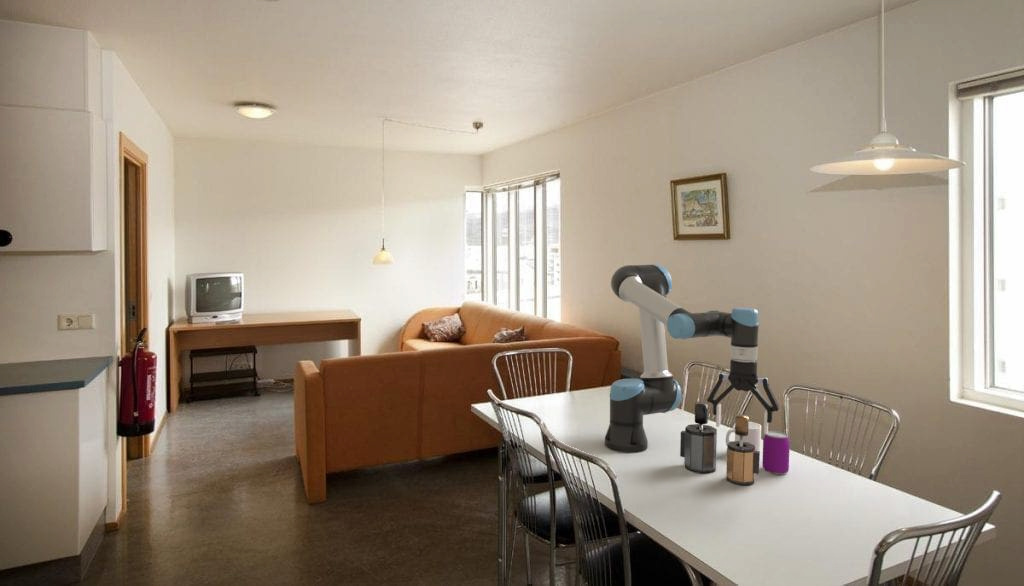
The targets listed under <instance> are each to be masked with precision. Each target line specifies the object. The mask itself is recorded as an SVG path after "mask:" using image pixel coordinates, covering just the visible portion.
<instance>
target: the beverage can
mask: <svg viewBox="0 0 1024 586" xmlns="http://www.w3.org/2000/svg"><path fill="white" fill-rule="evenodd" d="M790 444H791V443H790V440H789V437H788V434H787V433H785V432H784V431H783V432H782V431H777V430H768V433H767V434H764V436H763V441H762V461H761V463H762V469H763V470H764V471H765V472H766V473H769V474H772V475H776V476H778V475H779V476H780V475H785V474H787V473H788V472H789V469H790Z"/></svg>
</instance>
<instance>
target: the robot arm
mask: <svg viewBox="0 0 1024 586" xmlns="http://www.w3.org/2000/svg"><path fill="white" fill-rule="evenodd" d="M610 286H611V290H612V292H613V294H614V295H615V296H616V297H617V298H618V299H620V300H622V301H623V302H626V303H631V304H633V305H634V306H636V307H638V313H639V323H640V337H641V348H642V349H641V350H642V362H643V373H642V374H641V375H639V376H640V378H633V377H630V378H622V379H618V380H615V381H613V382H612V384H611V385H610V388H609V389H610V390H609V391H610V392H609V424H608V428H607V430H606V434H605V435H604V436H605V437H604V446H605V448H607V449H609V450H612V451H615V452H620V453H631V454H632V453H641V452H643V451H646V450H647V449H648V448H649V447H648V446H649V445H648V444H649V440H648V438H647V433H646V431H645V427H644V416H647V415H649V416H650V415H655V414H661V413H662V414H667V413H668V412H672V411H674V410H676V409H677V408H678V407H679V405H680V403H681V401H682V388H681V385H679V382H678V381H677V380H676V379H674V375H673V373H671V372H670V371H669V365H668V355H667V354H668V353H667V351H668V350H667V341H666V331H665V326H666V329H667V332H668V333H669V336H670V337H671V338H673V339H676V340H679V339H681V340H688V339H695V338H708V337H710V338H711V337H725V338H729V339H730V358H731V359H730V365H729V368H730V370H729V374H726V373H725V372H721V373H720V374H718V379H717V382H716V384H715V385H714V387H713V389H712V390H711V392H710V394H709V396H708V397H707V399H706V401H707V403H711V404H712V413H713V416H716V420H715V421H716V423H715V424H716V425H715V426H716V427H717V428H720V426H721V425H722V423H721V422H722V403H720V402H721V401H722V400H723V399H724V398H725V397H726V396H727V395H728V394H729V393H730V392H731V391H732V390H733V389H735V390H736V391H739V392H740V391H743V392H751V393H752V394H753V395H754V396H755V397H756V399H757V400H758V402H760V404H761V405H762V407H763V408H764V409H765V411H764V413H763V414H764V416H763V418H764V419H763V435H765V434H767V433H768V431H769V423H770V424H771V423H772V421H773V412H778V411H779V410H780V408H781V407H780V405H779V403H778V400H777V399H776V397H775V394H774V393H773V391H772V388H771V386H770V385H769V382H770V381H769V378H768V377H767V376H766V377H758V361H757V360H758V356H759V355H758V353H759V351H758V350H759V346H758V345H759V343H758V341H759V325H760V322H759V321H760V320H759V319H760V318H759V312H758V310H757V309H756V308H751V307H734V308H732V309H731V312H726V311H719V310H707V311H705V312H690V311H689V310H686V309H685V308H683V307H682V306H680V305H678V304H677V303H675V302H673V301H672V300H670V299H668V298H667V296H668V295H669V294H670V293H671V290H672V287H673V280H672V276H671V273H670V272H669V270H667V269H666V268H665V267H664V266H662V265H659V264H635V265H633V264H631V265H626V264H625V265H623V266H621V267H619V268H618V269H617V270H615V271H614V273H613V275H612V276H611V279H610ZM727 380H728V381H729V383H730V385H729V386H727V388H726V389H725V390H724V391H722V393H721V394H720V395H719V396H718V397H717V398H716V399H715V397H716V396H717V393H718V391H719V389H720V388H721V386H722V385H723V383H724V382H725V381H727ZM758 383H759V384H760V386H762V387H763V389H764V392H765V394H766V396H767V398H768V400H769V401H768V400H767V398H766V397H764V394H762V393H761V391H760V390H759V388H758V387H757V386H756V385H757V384H758ZM769 402H770V403H769Z"/></svg>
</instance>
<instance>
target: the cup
mask: <svg viewBox="0 0 1024 586" xmlns="http://www.w3.org/2000/svg"><path fill="white" fill-rule="evenodd" d="M732 433H734V441H740V435H736V434H735V428H730V429H728V430H727V432H726V435H725V444H726V446H727V444H728V443H729V442H730V436H731V434H732ZM743 442H748V443H750V444H752V445H754V446H755V451H759V452H760V453H761V447H762V445H761V444H762V425H761V424H760V423H757V422H753V421H749V428H748V435H747V436H743Z"/></svg>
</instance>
